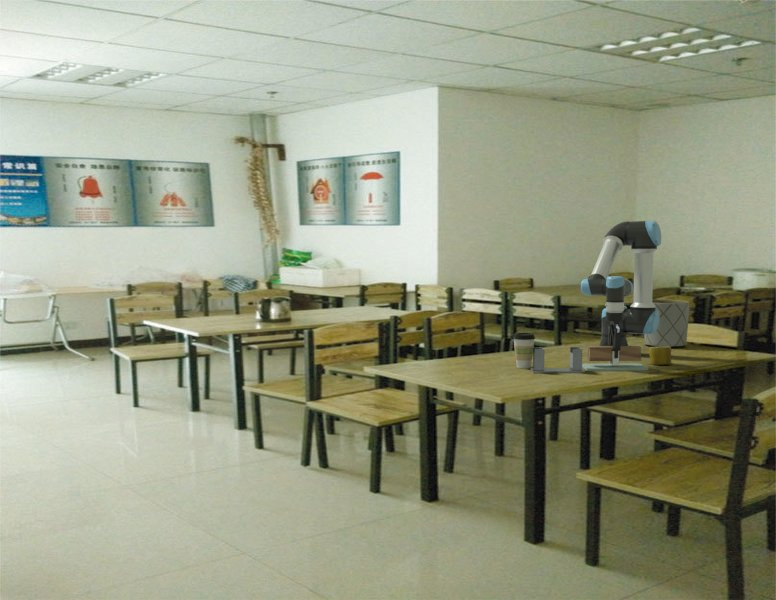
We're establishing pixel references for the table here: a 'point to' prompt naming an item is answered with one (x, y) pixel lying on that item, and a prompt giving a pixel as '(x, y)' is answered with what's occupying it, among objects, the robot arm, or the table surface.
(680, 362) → the table surface
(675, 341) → the planter
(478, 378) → the table surface
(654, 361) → the mug
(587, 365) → the mat
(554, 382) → the table surface
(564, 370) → the standards
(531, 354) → the coffee cup
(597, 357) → the rail
